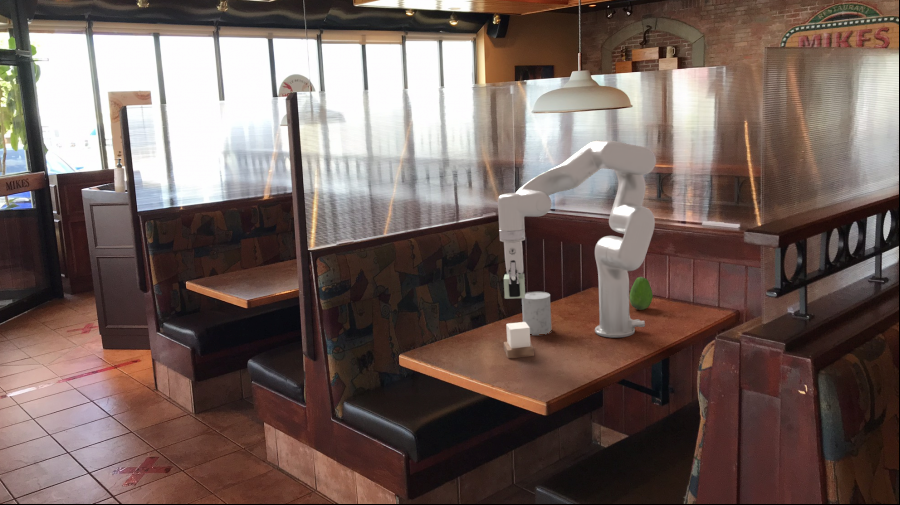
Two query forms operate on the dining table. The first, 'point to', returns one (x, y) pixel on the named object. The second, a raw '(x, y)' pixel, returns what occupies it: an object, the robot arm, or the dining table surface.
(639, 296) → the avocado
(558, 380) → the dining table surface
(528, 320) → the grey marble cylinder
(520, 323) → the tower cube
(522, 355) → the walnut slab
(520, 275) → the sage block
